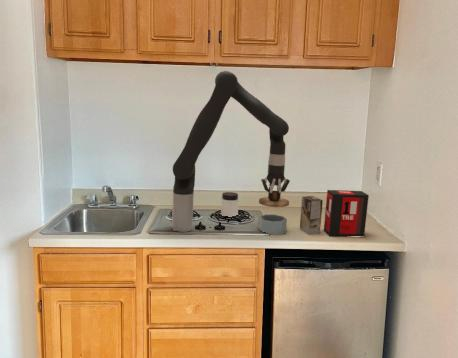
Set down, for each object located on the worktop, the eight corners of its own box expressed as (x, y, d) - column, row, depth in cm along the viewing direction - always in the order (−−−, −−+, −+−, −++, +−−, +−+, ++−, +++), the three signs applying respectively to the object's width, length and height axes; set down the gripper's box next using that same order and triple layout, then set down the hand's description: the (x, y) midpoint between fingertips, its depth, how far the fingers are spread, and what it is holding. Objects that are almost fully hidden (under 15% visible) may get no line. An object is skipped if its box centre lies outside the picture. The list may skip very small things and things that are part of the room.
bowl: (263, 234, 195) (264, 221, 194) (256, 226, 207) (257, 214, 205) (288, 234, 197) (289, 221, 196) (280, 226, 209) (281, 214, 208)
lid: (263, 207, 191) (264, 194, 190) (255, 199, 205) (256, 187, 204) (293, 206, 194) (294, 194, 193) (283, 199, 207) (284, 187, 206)
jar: (219, 214, 225) (220, 192, 222) (233, 213, 227) (235, 191, 225) (224, 219, 216) (225, 196, 214) (239, 218, 219) (240, 195, 217)
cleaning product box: (357, 231, 207) (361, 191, 203) (364, 237, 198) (368, 195, 194) (323, 230, 206) (327, 189, 202) (329, 236, 197) (333, 194, 193)
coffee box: (320, 233, 201) (323, 200, 198) (308, 234, 198) (311, 200, 195) (310, 227, 209) (313, 195, 206) (298, 228, 207) (301, 196, 204)
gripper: (264, 164, 191) (261, 202, 194) (293, 165, 194) (291, 202, 197) (259, 162, 198) (257, 198, 201) (288, 162, 201) (285, 198, 204)
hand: (274, 200), depth 199 cm, fingers closed on lid, 3 cm apart
